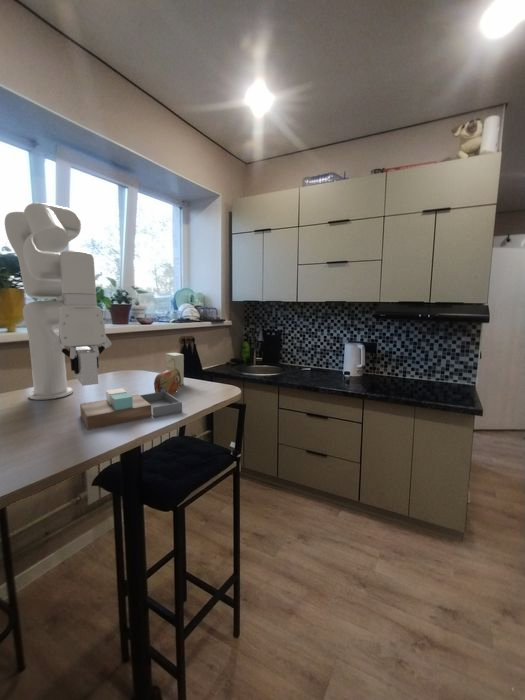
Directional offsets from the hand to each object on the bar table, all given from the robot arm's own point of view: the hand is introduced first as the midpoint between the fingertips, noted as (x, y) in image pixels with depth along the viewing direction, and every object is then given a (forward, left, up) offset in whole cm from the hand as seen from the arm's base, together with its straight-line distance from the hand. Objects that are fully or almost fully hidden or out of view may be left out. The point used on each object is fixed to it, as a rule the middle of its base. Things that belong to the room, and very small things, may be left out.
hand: (85, 371), depth 85 cm
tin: (-13, +27, -14) cm, 33 cm away
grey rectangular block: (0, 0, -2) cm, 2 cm away
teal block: (+3, +8, -10) cm, 13 cm away
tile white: (-3, +8, -10) cm, 13 cm away
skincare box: (-24, +34, -14) cm, 44 cm away
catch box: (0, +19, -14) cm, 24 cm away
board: (0, +7, -14) cm, 15 cm away
